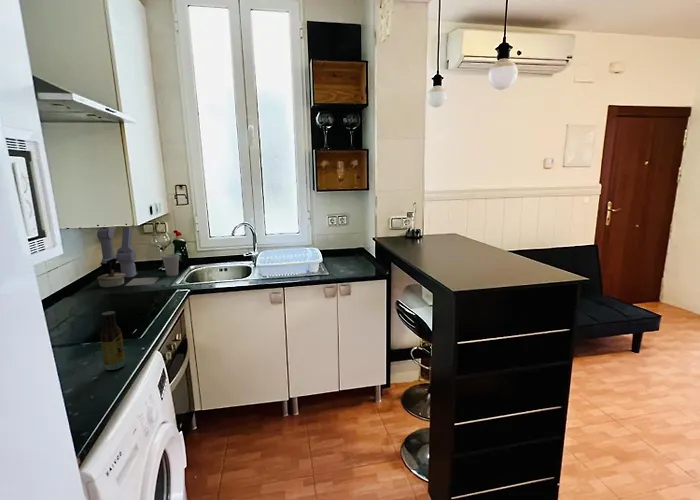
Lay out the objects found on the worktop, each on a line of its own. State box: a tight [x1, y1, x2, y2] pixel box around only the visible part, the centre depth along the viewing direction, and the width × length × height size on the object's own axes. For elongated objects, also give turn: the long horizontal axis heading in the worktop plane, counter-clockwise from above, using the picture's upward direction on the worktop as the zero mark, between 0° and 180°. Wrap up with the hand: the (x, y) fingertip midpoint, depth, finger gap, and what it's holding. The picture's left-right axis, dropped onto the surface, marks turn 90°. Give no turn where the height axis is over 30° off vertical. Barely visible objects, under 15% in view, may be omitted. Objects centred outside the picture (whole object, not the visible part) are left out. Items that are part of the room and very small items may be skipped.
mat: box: [124, 276, 160, 287], centre depth 230 cm, size 15×15×1 cm
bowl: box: [98, 277, 125, 288], centre depth 225 cm, size 12×12×4 cm
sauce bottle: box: [99, 310, 126, 365], centre depth 130 cm, size 6×6×20 cm
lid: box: [96, 270, 126, 281], centre depth 224 cm, size 14×14×4 cm
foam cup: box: [161, 253, 180, 277], centre depth 243 cm, size 10×9×13 cm
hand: (110, 272), depth 224 cm, fingers open, 5 cm apart
